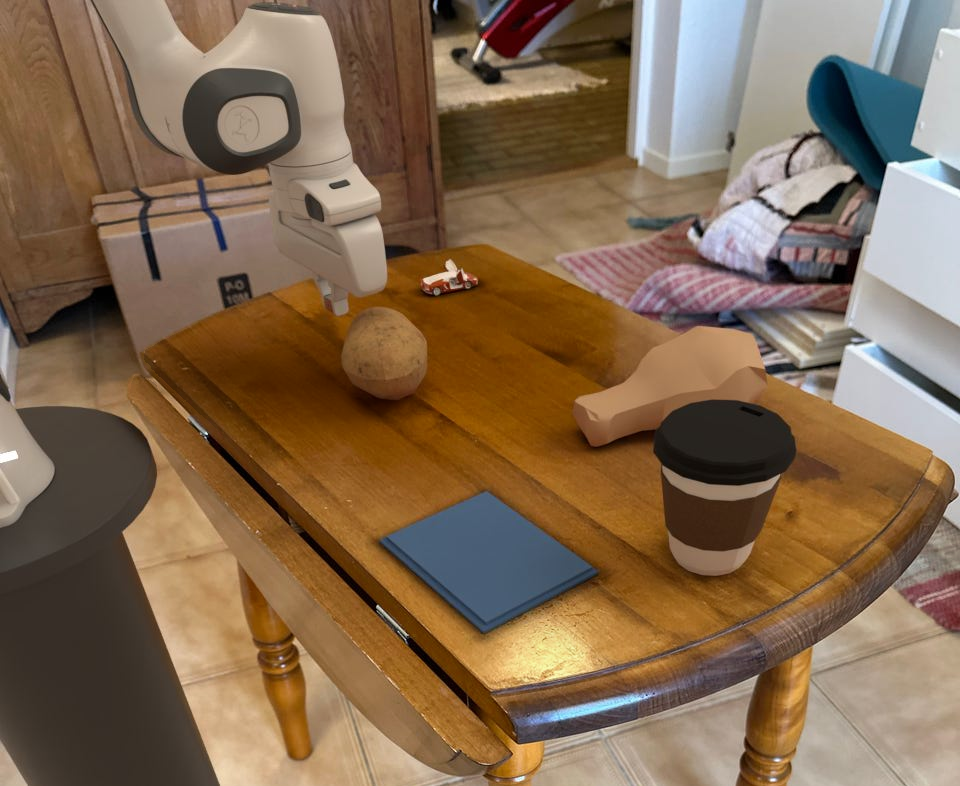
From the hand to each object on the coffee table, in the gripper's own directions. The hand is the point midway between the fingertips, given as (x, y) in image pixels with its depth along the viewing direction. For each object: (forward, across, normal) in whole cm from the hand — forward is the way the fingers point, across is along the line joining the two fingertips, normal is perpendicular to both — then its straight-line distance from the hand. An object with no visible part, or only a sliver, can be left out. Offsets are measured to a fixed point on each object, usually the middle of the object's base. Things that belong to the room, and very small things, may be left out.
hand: (336, 311), depth 108 cm
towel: (+6, +43, -10) cm, 44 cm away
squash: (+6, +37, +18) cm, 41 cm away
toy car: (+6, -9, +22) cm, 24 cm away
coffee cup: (+6, +55, +5) cm, 55 cm away
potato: (+6, +11, 0) cm, 12 cm away
